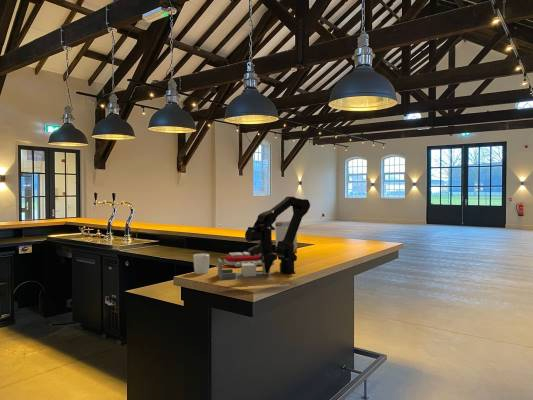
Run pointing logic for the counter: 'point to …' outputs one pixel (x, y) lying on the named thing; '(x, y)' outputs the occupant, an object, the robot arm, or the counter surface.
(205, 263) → the white cup
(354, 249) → the counter surface
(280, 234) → the cracker box
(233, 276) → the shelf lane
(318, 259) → the counter surface
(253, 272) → the rod-linked cube pair
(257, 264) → the word lettering
